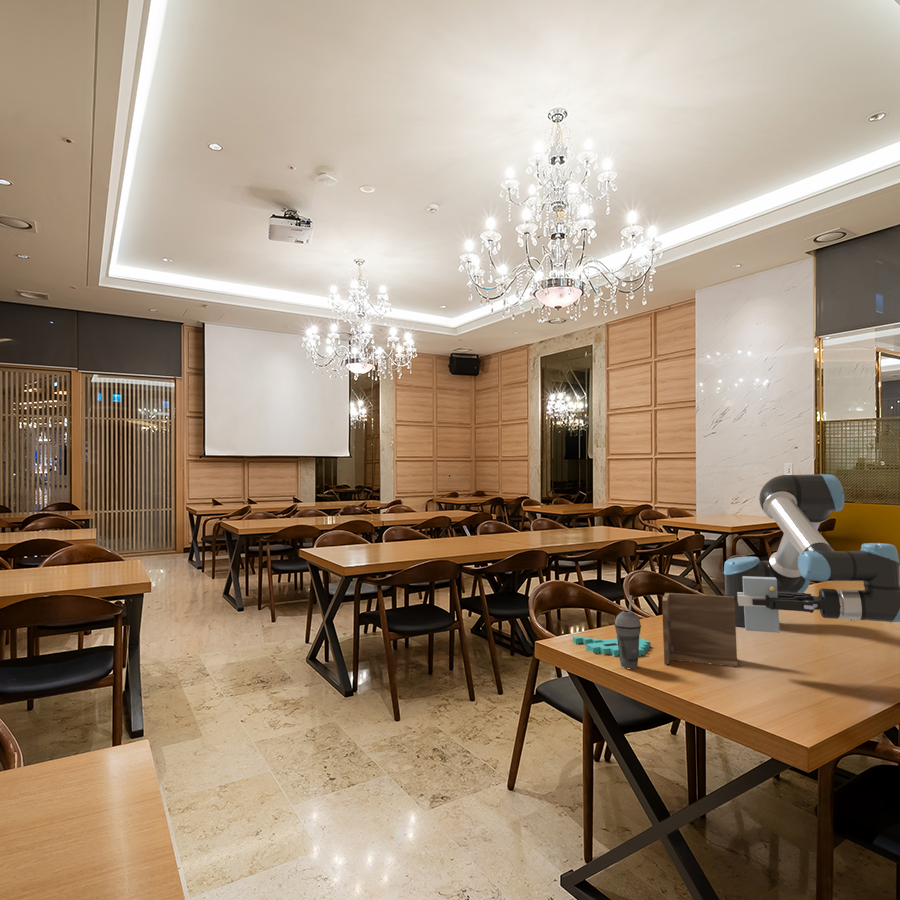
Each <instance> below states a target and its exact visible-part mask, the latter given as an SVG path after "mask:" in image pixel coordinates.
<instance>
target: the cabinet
mask: <svg viewBox="0 0 900 900" xmlns="http://www.w3.org/2000/svg"><path fill="white" fill-rule="evenodd" d="M661 605H662V606H661V609H662V612H661V613H662V633H663V634H662V635H663V660H664V663H663V664H669V665H670V662H671V661H674V660H681V661H680V662H684V661H691V662H690V663H694V662H700V663H699V664H704V663H711V664H710V665H713V664H721V665H720V666H723V665H731V666H730V667H733V666H738V667H739V664H738V662H739V661H738V651H737V650H738V649H737V626H736V624H735V600H734V597H730V596H724V595H713V594H711V595H710V594H709V595H707V594H695V593H694V594H691V593H690V594H689V593H675V592H664V595H663V598H662V601H661Z"/></svg>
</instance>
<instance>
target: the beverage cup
mask: <svg viewBox="0 0 900 900" xmlns="http://www.w3.org/2000/svg"><path fill="white" fill-rule="evenodd" d="M632 599H633V595H629V605H628V610H622V611H620V612H619V613H618V614H617V615H616V617H615V620H614V628H615V632H616V637H617V640H618V648H619V656H618V657H619V662H620V667H621V666H622V667H624V668H630V669H629V670H635V669H634V668H637V669H638V663H639V656H638V653H639V638H640V634H641V629H642V625H641V620H640V619H639V616H638V615H637V614H636V613H635V612H633V611H632ZM622 667H621V668H622ZM624 668H623V669H624Z"/></svg>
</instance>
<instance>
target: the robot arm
mask: <svg viewBox="0 0 900 900" xmlns="http://www.w3.org/2000/svg"><path fill="white" fill-rule="evenodd" d="M758 499H759V505H760V507H761V510H762V511H763V513H764V514H765V515H766V516H767V517H768V518H770V519H773V520H774V522H775V523H776V524H777V526H778V527H779V529H780V531H782V532H783V535H782V537H781V540H780V543H779V546H778V549H777V551H776V552H773V553H772V554H771V555H770V557H769V560H760V558H759V557H758V556H739V557H731V558H728V559H727V560H726V561H724V566H723V575H724V595H725V596H730V597H734V600H735V624H736V627H740V626H741V627H742V628H745V615H744V606H753V607H767V608H770V609H772V610H773V609H775V610H778V611H793V612H804V613H805V612H806V613H811V614H813V613H814V612H815V611H819V612H820V616H821V617H822V618H824V619H834V620H835V619H836V620H837V619H839V618H841V619H842V620H850V622H852V623H853V622H856V621H855V620H858V621H868V622H869V621H872V622H883V623H884V622H885V623H886V622H887V623H900V558H899V553H898V549H897V547H896V545H894V544H891V543H880V542H868V543H862V544H861V545H860V546H861V547H860V550H848V551H847V550H843V551H840V550H839V551H837V550H834V548H832V546H831V545H830V544H829V543H828V542H827V540H826V539H825V538H824V537H823V535H822V534H821V533H820V532H819V531H818V529H819V527H820V525H821V524H822V523H823V522H826V521H828V520H829V517H830V515H831V513H832V512H835V513H837V512H841V511H842V510H843V508H844V506H845V494H844V488H843V485H842V483H841V481H840V480H839V478H838V477H837V476H835V475H834V474H826V473H825V474H824V473H819V474H818V473H817V474H816V473H814V474H782V475H778V476H774V477H772V478H771V479H769V480H768V481H767V482H766V483H765V484H764V485H763V486H762V488H761V490H760V493H759V498H758ZM742 576H751V577H775V578H776V579H777V594H778V598H769V595H766V599H765V596H746V595H743V577H742ZM811 581H817V582H862V583H863V587H864V589H862V590H861V589H852V588H850V589H848V588H839V589H838V590H837V589H836V588H823V587H822V588H820V589H819V591H818V595H817V596H814V595H812V594H811V593H805V592H806V591H807V589H808V588H809V586H810V583H811ZM741 627H740V628H741Z"/></svg>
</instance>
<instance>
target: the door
mask: <svg viewBox="0 0 900 900" xmlns="http://www.w3.org/2000/svg"><path fill="white" fill-rule="evenodd" d="M742 577H743V595H746V596H765V599H766V595H769V598H778V594H777V579H776V578H775V577H751V576H742ZM779 613H780V612H779V610H775V609H773V610H772V609H770V608H767V607H753V606H744V615H745V627H744V628H745V631H747V632H748V631H749V632H750V631H751V632H762V633H763V632H764V633H765V632H766V633H780V616H779ZM780 634H781V633H780Z"/></svg>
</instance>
